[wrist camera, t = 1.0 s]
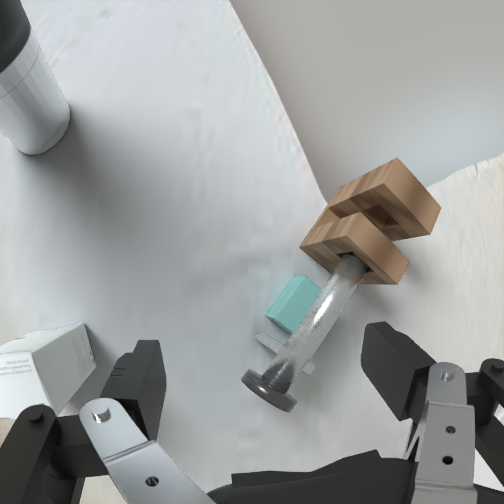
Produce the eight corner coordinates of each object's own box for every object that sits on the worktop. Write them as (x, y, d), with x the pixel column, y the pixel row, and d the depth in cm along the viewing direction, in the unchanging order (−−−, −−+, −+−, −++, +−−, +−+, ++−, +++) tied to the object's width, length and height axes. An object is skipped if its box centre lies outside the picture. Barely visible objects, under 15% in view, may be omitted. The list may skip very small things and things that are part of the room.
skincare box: (84, 321, 32) (34, 346, 18) (98, 369, 32) (60, 419, 18) (29, 332, 30) (-36, 356, 16) (42, 377, 30) (-12, 422, 16)
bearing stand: (299, 246, 40) (354, 233, 27) (338, 187, 42) (397, 157, 29) (342, 283, 41) (407, 284, 28) (377, 224, 43) (441, 207, 30)
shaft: (228, 362, 35) (249, 391, 26) (323, 226, 40) (368, 211, 30) (267, 386, 36) (298, 419, 26) (355, 255, 41) (404, 248, 31)
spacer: (264, 314, 38) (275, 319, 34) (292, 276, 39) (305, 275, 35) (294, 337, 39) (307, 342, 35) (320, 299, 40) (335, 301, 36)
